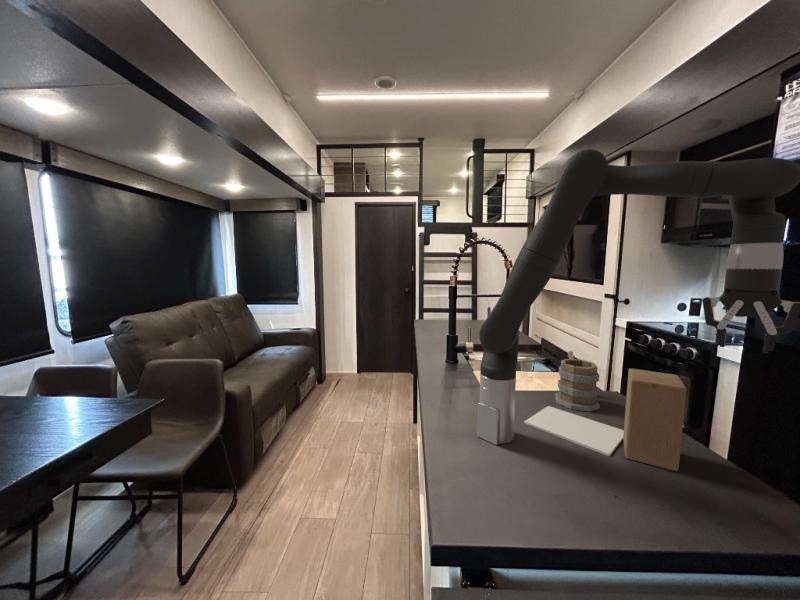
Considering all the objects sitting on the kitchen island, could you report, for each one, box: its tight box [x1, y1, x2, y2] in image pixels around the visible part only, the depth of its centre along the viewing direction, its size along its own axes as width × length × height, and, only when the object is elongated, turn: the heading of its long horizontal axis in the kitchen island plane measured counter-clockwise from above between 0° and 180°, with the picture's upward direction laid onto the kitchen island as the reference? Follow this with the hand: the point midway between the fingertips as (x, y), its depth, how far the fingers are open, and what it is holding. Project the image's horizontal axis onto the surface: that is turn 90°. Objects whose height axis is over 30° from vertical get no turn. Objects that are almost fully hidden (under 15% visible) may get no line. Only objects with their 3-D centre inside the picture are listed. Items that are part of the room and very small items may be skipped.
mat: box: [523, 405, 624, 457], centre depth 92 cm, size 16×22×1 cm
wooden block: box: [622, 368, 687, 472], centre depth 78 cm, size 10×10×20 cm
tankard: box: [554, 350, 601, 412], centre depth 112 cm, size 20×13×15 cm, turn 161°
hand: (743, 349), depth 66 cm, fingers open, 5 cm apart
